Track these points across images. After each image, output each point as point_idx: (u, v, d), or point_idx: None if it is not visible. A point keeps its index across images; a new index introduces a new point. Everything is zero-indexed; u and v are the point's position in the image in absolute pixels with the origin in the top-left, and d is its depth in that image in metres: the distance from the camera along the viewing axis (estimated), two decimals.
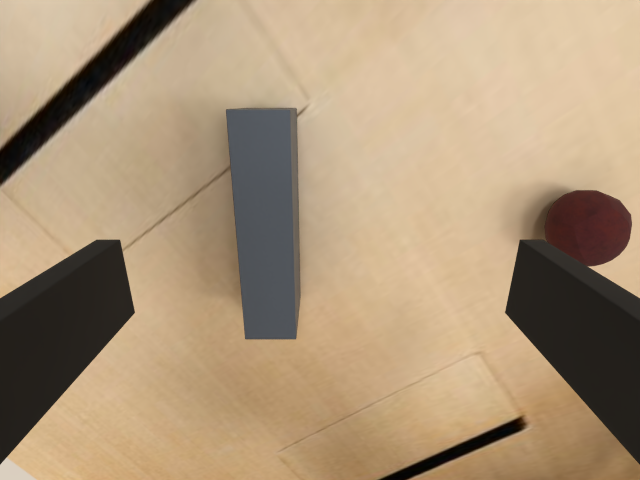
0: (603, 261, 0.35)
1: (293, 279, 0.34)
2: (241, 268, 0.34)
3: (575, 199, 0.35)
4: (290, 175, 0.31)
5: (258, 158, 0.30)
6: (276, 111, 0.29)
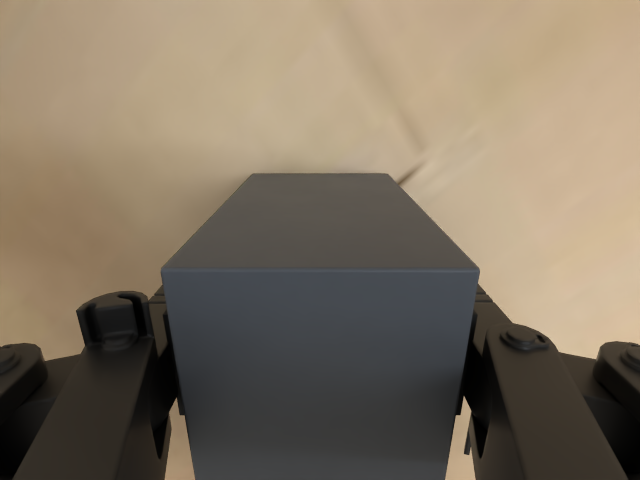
0: None
1: None
2: None
3: None
4: None
5: (309, 447, 0.07)
6: (409, 274, 0.06)
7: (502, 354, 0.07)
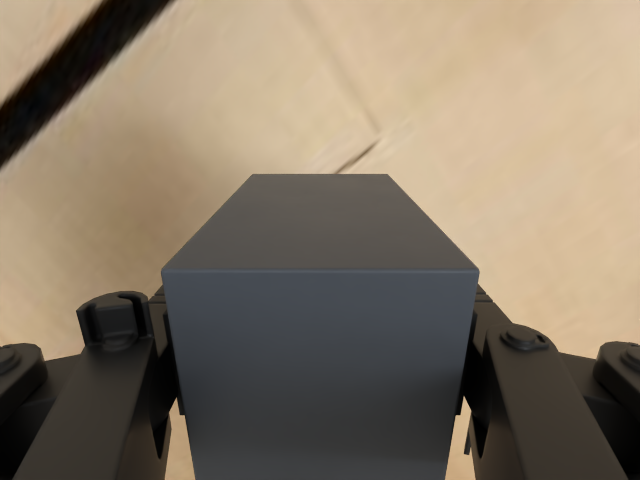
0: None
1: None
2: None
3: None
4: None
5: (309, 448, 0.07)
6: (409, 274, 0.06)
7: (501, 354, 0.07)
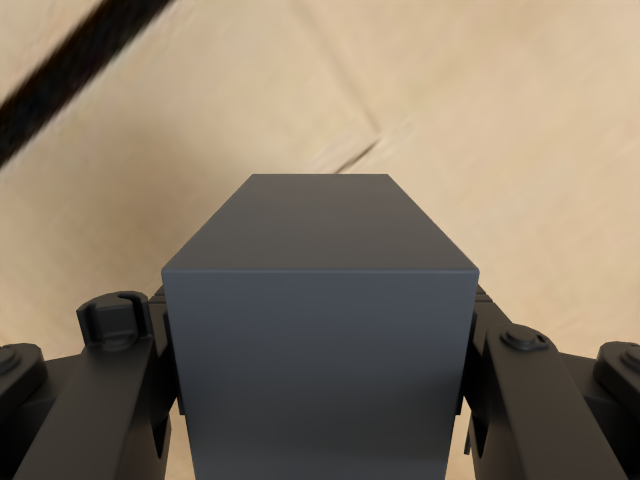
0: None
1: None
2: None
3: None
4: None
5: (309, 448, 0.07)
6: (409, 274, 0.06)
7: (502, 354, 0.07)
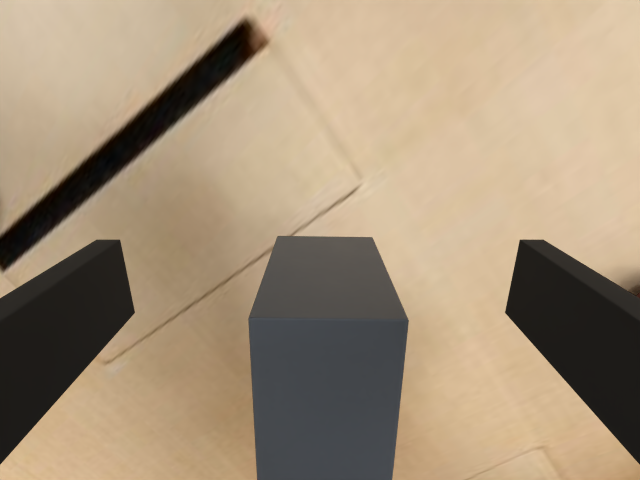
0: None
1: None
2: None
3: None
4: (392, 446, 0.13)
5: (320, 415, 0.13)
6: (373, 321, 0.12)
7: None
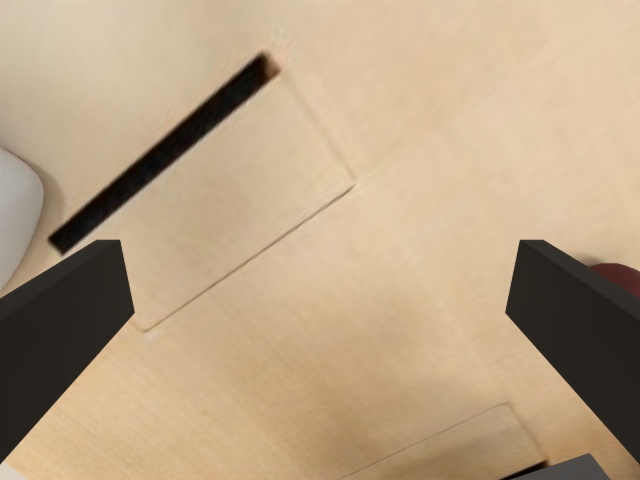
0: None
1: None
2: None
3: (604, 275, 0.38)
4: None
5: None
6: None
7: None
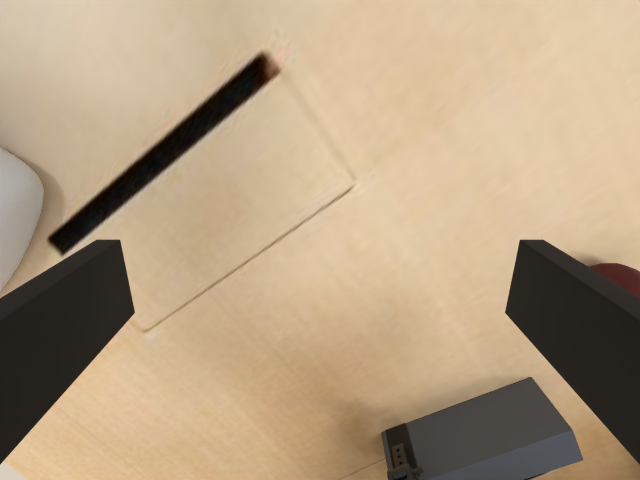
0: None
1: None
2: (454, 472, 0.42)
3: (604, 275, 0.38)
4: (538, 474, 0.42)
5: (544, 455, 0.41)
6: (579, 453, 0.41)
7: None
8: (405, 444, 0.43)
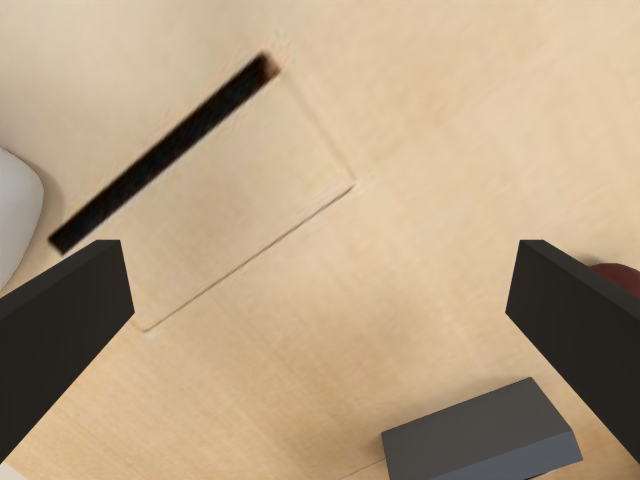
0: None
1: None
2: (454, 472, 0.42)
3: (604, 275, 0.38)
4: (538, 474, 0.42)
5: (544, 455, 0.41)
6: (579, 453, 0.41)
7: None
8: None
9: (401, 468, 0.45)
